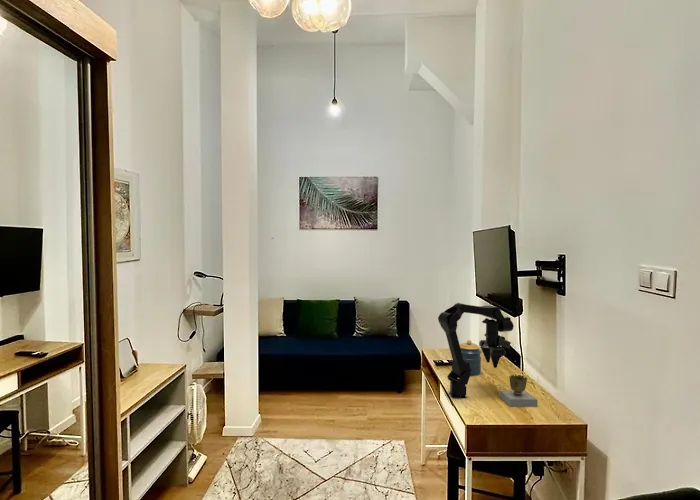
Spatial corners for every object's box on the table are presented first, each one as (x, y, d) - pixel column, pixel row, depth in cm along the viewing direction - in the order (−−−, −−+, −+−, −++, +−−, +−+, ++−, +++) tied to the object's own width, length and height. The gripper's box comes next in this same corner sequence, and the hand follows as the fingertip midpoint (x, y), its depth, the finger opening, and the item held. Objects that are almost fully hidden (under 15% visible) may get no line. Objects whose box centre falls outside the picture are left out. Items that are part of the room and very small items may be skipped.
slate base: (510, 406, 193) (510, 399, 193) (499, 397, 205) (499, 390, 205) (537, 406, 194) (537, 399, 194) (525, 396, 206) (525, 390, 206)
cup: (505, 392, 202) (505, 375, 202) (518, 391, 204) (519, 373, 204) (516, 398, 195) (517, 380, 195) (530, 396, 197) (530, 378, 197)
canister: (455, 374, 240) (455, 341, 240) (457, 368, 252) (458, 337, 252) (480, 377, 236) (481, 343, 236) (481, 370, 248) (482, 338, 248)
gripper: (517, 336, 204) (516, 370, 204) (501, 328, 222) (500, 360, 223) (493, 336, 203) (492, 370, 203) (479, 328, 222) (478, 360, 222)
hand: (491, 365), depth 213 cm, fingers open, 9 cm apart
